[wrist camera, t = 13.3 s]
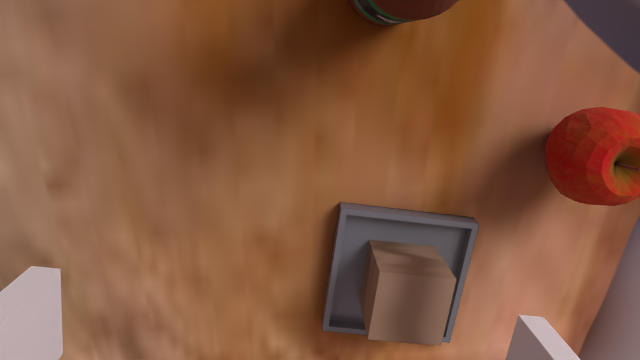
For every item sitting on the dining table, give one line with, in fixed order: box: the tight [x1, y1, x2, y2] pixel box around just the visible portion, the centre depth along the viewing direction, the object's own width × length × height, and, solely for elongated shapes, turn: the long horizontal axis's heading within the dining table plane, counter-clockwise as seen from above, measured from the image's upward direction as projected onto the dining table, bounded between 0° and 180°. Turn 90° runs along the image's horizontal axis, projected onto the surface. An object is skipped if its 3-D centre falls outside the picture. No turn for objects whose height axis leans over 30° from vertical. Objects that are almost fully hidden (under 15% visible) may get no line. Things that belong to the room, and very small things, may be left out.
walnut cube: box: [359, 240, 456, 346], centre depth 45 cm, size 7×7×7 cm
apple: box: [545, 107, 640, 206], centre depth 41 cm, size 9×8×11 cm
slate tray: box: [322, 202, 479, 343], centre depth 49 cm, size 14×14×2 cm
